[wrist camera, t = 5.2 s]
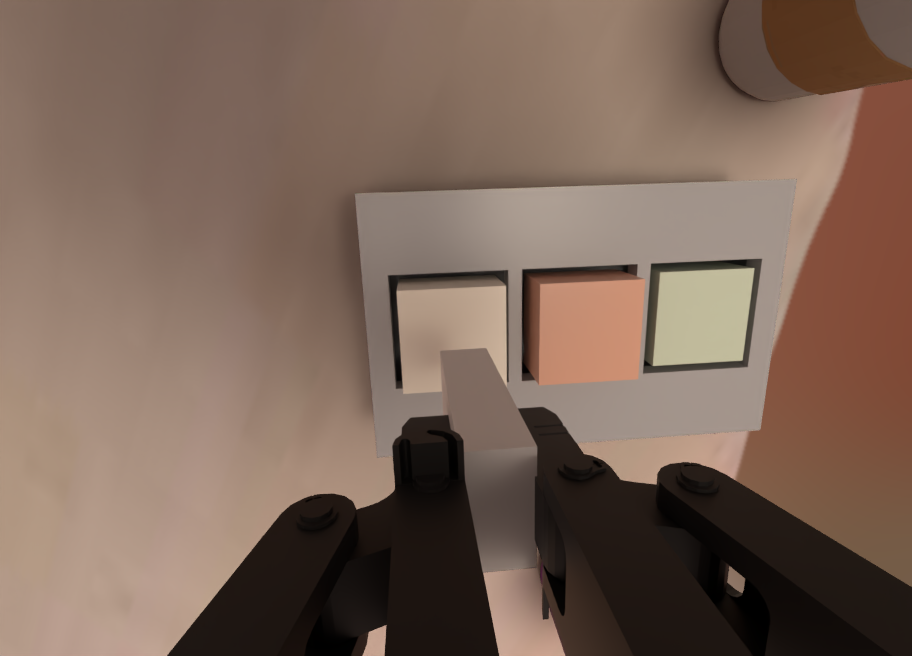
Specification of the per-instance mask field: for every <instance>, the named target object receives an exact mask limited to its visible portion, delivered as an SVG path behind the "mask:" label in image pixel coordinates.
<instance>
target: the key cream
mask: <svg viewBox="0 0 912 656" xmlns="http://www.w3.org/2000/svg"><path fill="white" fill-rule="evenodd" d="M397 306H398V321H399V336H400V351H401V366H402V381H403V394H412V393H428V392H442V382H441V361H440V351H443V350H460V349H476V348H487V350H488V352H489V354H490V356H491V358H492V360H493V362H494V364H495V366H496V368H497V370H498V372H499V374H500V375H501V377H502V379H503V381H504V383H505V385H506V387H507V346H506V285H505V284H504V283H503V282H502V281H500V280H499V279H498V278H497V277H496V276H495V275H477V276H455V277H433V278H411V279H399V281H398V286H397Z"/></svg>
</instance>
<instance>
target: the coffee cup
mask: <svg viewBox="0 0 912 656" xmlns="http://www.w3.org/2000/svg"><path fill="white" fill-rule="evenodd" d="M719 53H720V57H721V60H722V64H723V67H724V69H725V71H726V73H727V74H728V76H729V78H730V80H731V81H732V82H733V83H734V84H735V85H737V86H738V87H739V88H740V89H741V90H743V91H745V92H746V93H748V94H750V95H752V96H754V97H756V98H758V99H761V100H768V101H781V100H786V99H792V98H798V97H803V96H809V95H814V94H819V95H823V94H829V93H835V92H841V91H847V90H852V89H858V88H864V87H869V86H875V85H881V84H886V83H892V82H898V81H903V80H909V79H912V0H729V2H728V4H727V7H726V9H725V12H724V14H723V16H722V21H721V26H720V31H719Z"/></svg>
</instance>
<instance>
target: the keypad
mask: <svg viewBox="0 0 912 656" xmlns="http://www.w3.org/2000/svg"><path fill="white" fill-rule="evenodd" d="M796 182H797V179H779V180H749V181H718V182H687V183H657V184H626V185H596V186H565V187H534V188H504V189H473V190H442V191H412V192H381V193H355V202H356V214H357V226H358V238H359V249H360V261H361V273H362V285H363V296H364V308H365V320H366V332H367V343H368V355H369V367H370V379H371V390H372V402H373V414H374V426H375V437H376V449H377V458H379V457H393V451H392V445H393V443H394V441H395V439H396V438H397V437H399V436H400V435H401V434H402V426H403V425H404V424H405V423H406V422H407V421H408V420H409V419H410V418H411V417H425V416H440V415H443V403H442V392H428V393H412V394H403V381H402V366H401V351H400V336H399V321H398V306H397V286H398V281H399V279H411V278H433V277H455V276H477V275H495V276H496V277H497V278H498V279H499V280H500V281H502V282H503V283H504V284H505V285H506V346H507V389H508V391H509V393H510V395H511V397H512V399H513V401H514V403H515V404H516V406H517V408H532V407H545V408H546V409H548V410H550V411H552V412H553V413H555V414H557V416H558V417H559V419H560V420H561V422H562V423H563V426H565V427H566V429H567V430H568V432H569V434H570V435H571V436H572V438H573V439H574V440H575V442H576V443H587V442H601V441H615V440H629V439H643V438H657V437H671V436H684V435H698V434H712V433H726V432H740V431H752V430H753V431H754V430H760V427H761V421H762V414H763V407H764V400H765V393H766V387H767V380H768V373H769V366H770V359H771V353H772V346H773V339H774V332H775V325H776V319H777V312H778V305H779V298H780V291H781V284H782V278H783V271H784V264H785V257H786V250H787V244H788V237H789V230H790V223H791V216H792V210H793V203H794V196H795V189H796ZM696 261H721V262H726V263H731V264H736V265H741V266H747V267H752V268H755V269H754V276H753V284H752V291H751V299H750V307H749V314H748V322H747V330H746V337H745V345H744V353H743V360H742V361H727V362H711V363H694V364H678V365H661V366H652V365H651V364H649V363H648V362H646V361H645V360H644V352H645V338H646V325H647V311H648V298H649V284H650V270H651V263H674V262H696ZM608 269H617V270H620V271H623V272H626V273H629V274H632V275H634V276H637V277H640V278H643V279H645V291H644V305H643V319H642V333H641V347H640V361H639V375H638V379H635V380H619V381H603V382H587V383H571V384H555V385H538V383H537V382H536V380H535V379H534V377H533V376H532V374H531V373H530V371H529V370H528V368H527V367H526V365H525V364H524V273H543V272H565V271H587V270H608Z"/></svg>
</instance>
